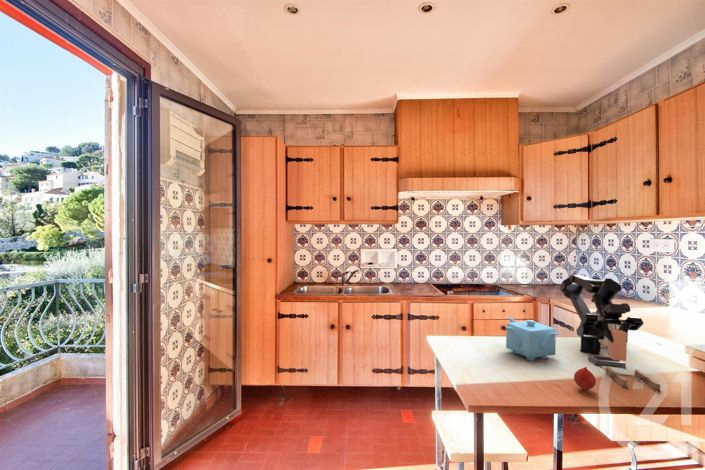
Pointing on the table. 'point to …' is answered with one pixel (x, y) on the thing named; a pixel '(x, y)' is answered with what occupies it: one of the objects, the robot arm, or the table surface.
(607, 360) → the tray
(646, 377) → the channel
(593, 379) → the onion
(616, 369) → the pad
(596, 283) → the robot arm
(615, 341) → the block
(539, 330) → the blue lidded box
